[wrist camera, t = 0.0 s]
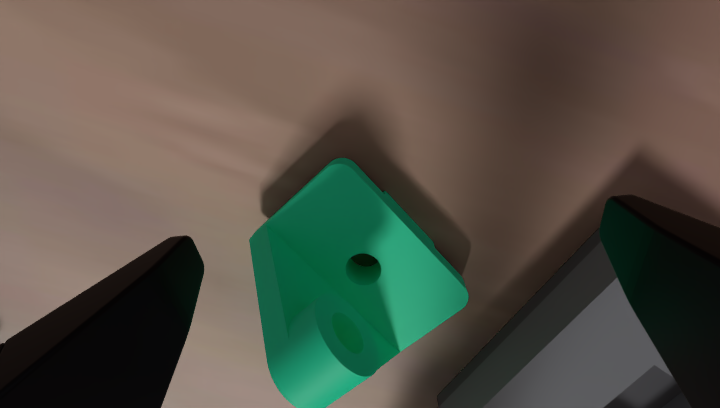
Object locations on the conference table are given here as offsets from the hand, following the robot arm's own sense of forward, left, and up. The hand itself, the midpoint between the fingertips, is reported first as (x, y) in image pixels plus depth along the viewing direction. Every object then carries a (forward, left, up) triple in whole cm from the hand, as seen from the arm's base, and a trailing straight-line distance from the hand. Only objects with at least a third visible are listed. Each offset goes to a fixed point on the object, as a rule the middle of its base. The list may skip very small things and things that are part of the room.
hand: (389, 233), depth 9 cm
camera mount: (-8, -3, -16) cm, 18 cm away
